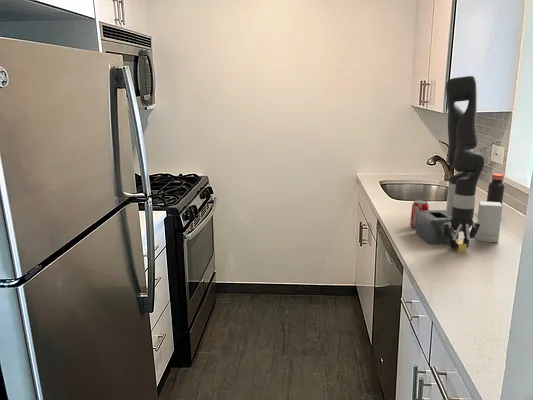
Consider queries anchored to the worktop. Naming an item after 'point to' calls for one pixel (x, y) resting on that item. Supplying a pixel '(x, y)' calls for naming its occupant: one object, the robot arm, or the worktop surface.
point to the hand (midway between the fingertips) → (458, 248)
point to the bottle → (496, 189)
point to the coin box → (433, 226)
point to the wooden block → (460, 246)
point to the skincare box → (489, 221)
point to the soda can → (415, 207)
